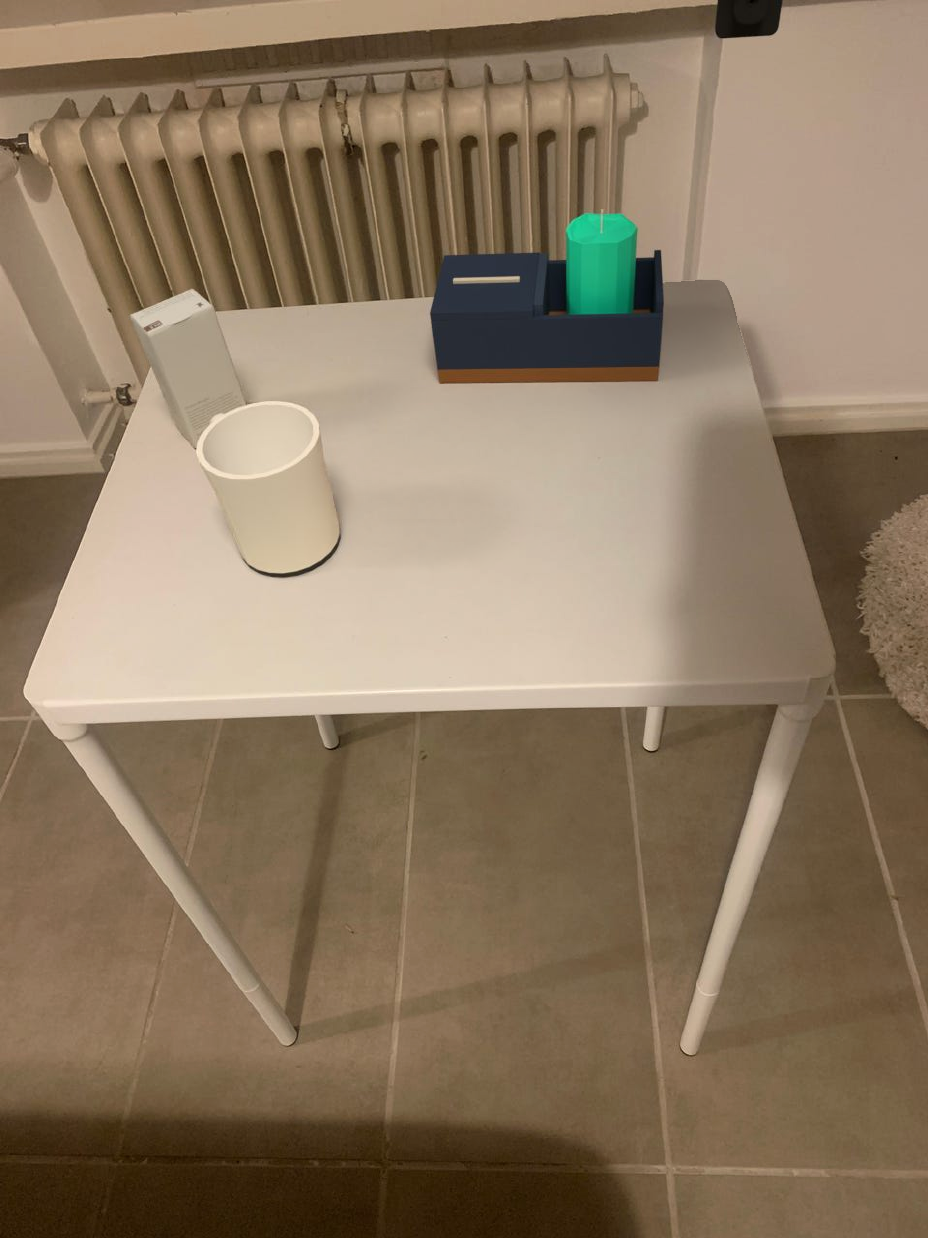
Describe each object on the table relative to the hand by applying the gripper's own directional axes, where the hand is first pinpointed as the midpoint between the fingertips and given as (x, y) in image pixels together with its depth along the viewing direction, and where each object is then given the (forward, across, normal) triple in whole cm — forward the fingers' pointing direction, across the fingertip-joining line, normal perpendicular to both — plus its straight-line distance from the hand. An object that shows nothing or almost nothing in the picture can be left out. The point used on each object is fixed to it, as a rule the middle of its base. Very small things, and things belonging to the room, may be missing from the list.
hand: (738, 4), depth 52 cm
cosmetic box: (+32, +4, +42) cm, 53 cm away
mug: (+32, -10, +32) cm, 47 cm away
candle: (+31, +15, +7) cm, 35 cm away
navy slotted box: (+32, +16, +12) cm, 38 cm away
